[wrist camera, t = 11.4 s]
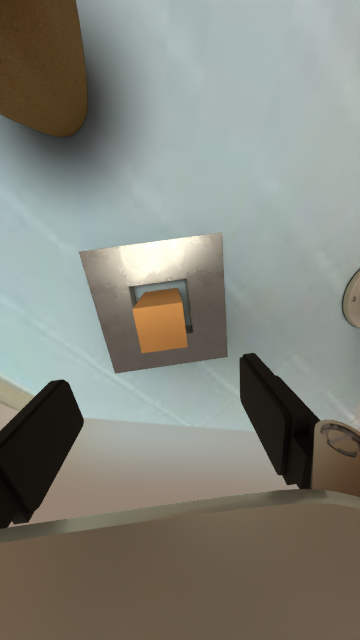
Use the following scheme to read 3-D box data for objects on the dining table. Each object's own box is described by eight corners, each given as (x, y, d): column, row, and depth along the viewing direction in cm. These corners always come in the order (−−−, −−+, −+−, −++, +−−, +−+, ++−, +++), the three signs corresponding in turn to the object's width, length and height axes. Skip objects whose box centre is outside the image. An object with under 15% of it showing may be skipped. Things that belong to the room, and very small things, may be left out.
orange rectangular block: (177, 287, 26) (182, 302, 17) (181, 318, 28) (187, 347, 19) (145, 292, 26) (132, 309, 17) (150, 322, 28) (141, 353, 19)
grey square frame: (215, 236, 24) (222, 232, 22) (221, 348, 30) (227, 356, 27) (89, 253, 24) (78, 251, 21) (120, 362, 30) (115, 373, 27)
